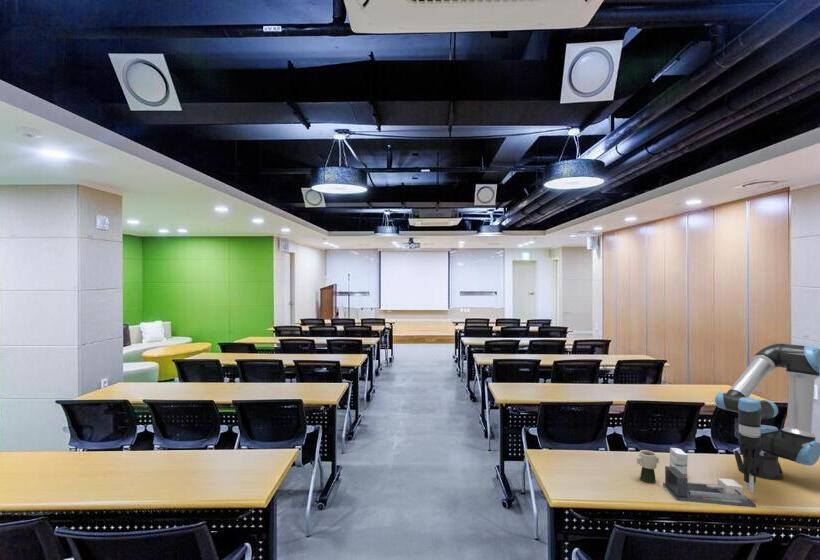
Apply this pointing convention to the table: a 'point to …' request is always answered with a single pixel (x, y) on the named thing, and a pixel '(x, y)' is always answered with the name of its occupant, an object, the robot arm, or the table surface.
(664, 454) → the table surface
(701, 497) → the gauge bed
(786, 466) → the table surface
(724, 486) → the gauge carriage
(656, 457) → the character mug
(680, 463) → the ink box
